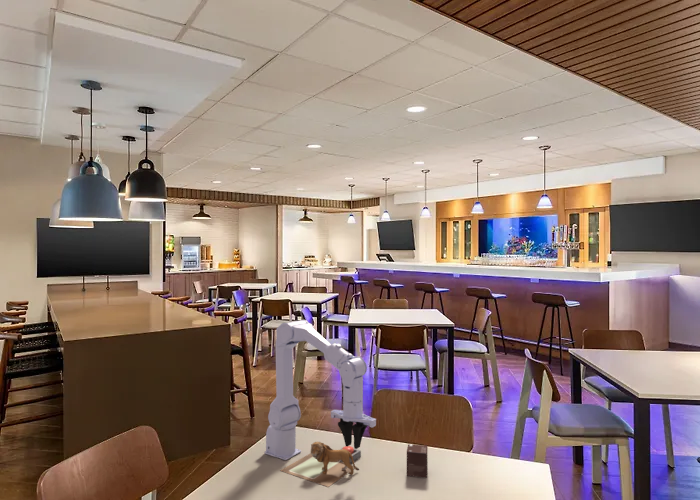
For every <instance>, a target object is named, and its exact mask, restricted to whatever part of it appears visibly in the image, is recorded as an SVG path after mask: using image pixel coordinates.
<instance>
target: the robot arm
mask: <svg viewBox="0 0 700 500" xmlns="http://www.w3.org/2000/svg"><path fill="white" fill-rule="evenodd" d="M300 342H306V343H308V344H309V345H311V346H312V347H314V348H316V349H317V350H318V351H320V352H321V353H322V354H323V358H324V360H325V361H327V362H328V363H329V364H331V365H332V366H333V368H334V367H335V369H337V370H338V372H339V376H340V377H341V381H342V382H341V383H342V386H343V387H342V390H343V392H342V393H343V395H342V397H343V398H342V399H343V401H342V406H343V407H342V409H343V410H340V409H332V410H331V411H330V418H331V419H335V418H336V419H340V420H339V421H338V422H337V426H338V428H339V429H340V432H341V433H342V437H343V440H344V444H345V445H344V446H347V447H348V446H351V445H352V442H353V448H354V449H357V450H358V449H359V448H361V444H362V443H361V442H362V439H363V435H364V433H365V432H366V430H367V428H368V426H369V427H370V428H374V427H376V425H377V418H374V417H371V416H370V415H366V414H365V413H364V411H363V410H364V408H363V407H364V406H363V405H364V404H363V403H364V399H363V397H364V394H363V391H364V389H363V388H364V384H363V383H364V380H363V379H364V376H365V374H367V370H368V366H367V365H368V364H367V363H366V360H365V359H363V357H362V356H354V355H353V354H352V353H350V352H349V351H347V350H346V349H344V348H343V347H342V345H341V344H340V343H331V342H329V341H328V340H327V339H325V338H324V337H323V336H322V335H321V334H320V333H319V332H318V331H317V330H315V329H314V326H313V324H312V323H310V322H308V320H306V319H300V320H295V321H289V322H282V323H281V324H280V325H278V326H277V327H276V340H275V386H276V388H275V389H276V390H275V391H276V397H275V398H274V399H273V401H272V402H271V403H270V405H269V412H268V415H267V419H268V422H269V425H268V426H267V429H266V434H265V451H264V454H265V455H267V456H271V457H274V458H277V459H281V460H283V461H286V460H289V459H291V458H293V457H295V456H296V455H298V454H300V453H301V452H302V450H301V449H298V448H297V447H296V445H297V443H296V441H297V440H296V437H297V435H296V430H297V429H296V425H298V421H299V420H300V419H301V417H302V414H301V413H302V412H301V408H300V405H299V399H298V398H296V397H295V396H294V375H293V374H294V372H293V371H294V368H293V363H294V362H293V359H294V358H293V349H294V348H295V346H297V344H299V343H300ZM354 423H355V424H354ZM352 439H353V440H352Z"/></svg>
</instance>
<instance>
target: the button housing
mask: <svg viewBox="0 0 700 500" xmlns="http://www.w3.org/2000/svg"><path fill="white" fill-rule="evenodd" d="M339 450H342V448H340V449H339ZM352 457H353V460H354V462H355V461H357V460H358V459H360V458H361V457H362V451H361V450H360V449H358V448H357V449H354V453H353V454H352ZM349 461H350V464H352V461H351V458H350V457H349ZM340 462H343V461H342V460H341V461H340Z"/></svg>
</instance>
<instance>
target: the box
mask: <svg viewBox="0 0 700 500" xmlns="http://www.w3.org/2000/svg"><path fill="white" fill-rule="evenodd" d="M428 459H429V458H428V445H426V444H425V445H424V444H410V443H408V444H407V449H406V476H407V477H410V478H411V477H413V478H424V479H425V478H427V477H428V470H429V469H428V467H429V466H428V461H429V460H428Z"/></svg>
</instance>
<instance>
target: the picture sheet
mask: <svg viewBox="0 0 700 500" xmlns="http://www.w3.org/2000/svg"><path fill="white" fill-rule="evenodd" d="M352 466H353V465H352ZM322 467H324V464H323V462H318V461H317V459H315V458H314V457H313V456H312V455H311V453H308V454H307V455H305V456H303V457H301V458H299V459H298V460H296V461H294V462H292V463H290V464H289V465H287V466H286V467H284V468H282V469H280V470H279V471H280V472H283V473H286V474H289V475H292V476H295V477H297V478H300V479H303V480H305V481H309V482H311V483H315V484H319V485H322V486H324V487H327V488H329V487H330V486H332V485H334V484H335V483H336V482H339V480H341V479H342V478H344V477H345V476H347V475H348V474H349V472H351V470H350V469H349V468H348V467H347V468H346V470H342V467H345V464H344V463H343V461H339V462H329V463H328V466H327V469H328V471H327V473H326V474H323V473H322V472H323V471H324V470H322ZM355 467H356V468H357V466H356V465H355ZM353 470H355V468H354V466H353Z"/></svg>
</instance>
